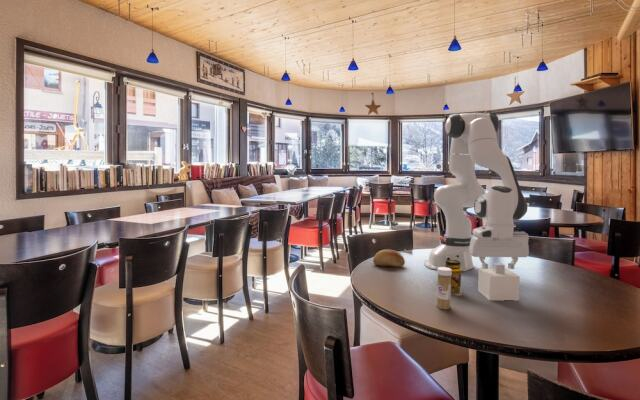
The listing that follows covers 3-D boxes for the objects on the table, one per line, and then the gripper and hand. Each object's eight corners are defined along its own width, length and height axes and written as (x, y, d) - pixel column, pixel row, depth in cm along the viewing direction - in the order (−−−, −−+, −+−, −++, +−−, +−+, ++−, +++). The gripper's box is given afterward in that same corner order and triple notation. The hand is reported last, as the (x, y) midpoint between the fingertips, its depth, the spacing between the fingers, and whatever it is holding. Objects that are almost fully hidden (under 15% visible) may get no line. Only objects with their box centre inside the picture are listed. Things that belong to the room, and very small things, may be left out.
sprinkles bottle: (434, 307, 124) (435, 268, 123) (439, 303, 128) (440, 265, 127) (447, 311, 122) (448, 271, 120) (452, 306, 125) (453, 268, 124)
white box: (489, 300, 131) (490, 267, 130) (477, 290, 141) (479, 260, 140) (518, 300, 131) (520, 268, 129) (504, 290, 141) (506, 260, 140)
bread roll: (403, 270, 169) (403, 253, 168) (371, 267, 174) (371, 250, 173) (405, 264, 178) (405, 248, 178) (374, 262, 183) (374, 246, 182)
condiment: (461, 295, 136) (463, 264, 135) (437, 293, 138) (438, 262, 137) (460, 289, 143) (461, 259, 141) (437, 287, 145) (438, 257, 144)
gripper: (524, 229, 136) (522, 266, 138) (468, 229, 137) (467, 266, 138) (533, 233, 130) (531, 271, 131) (474, 232, 131) (473, 270, 132)
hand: (497, 268), depth 135 cm, fingers open, 8 cm apart
